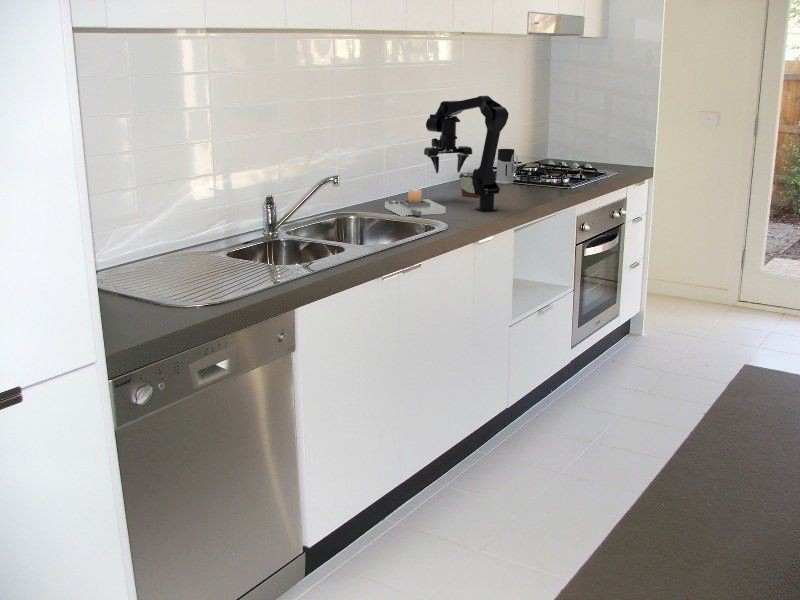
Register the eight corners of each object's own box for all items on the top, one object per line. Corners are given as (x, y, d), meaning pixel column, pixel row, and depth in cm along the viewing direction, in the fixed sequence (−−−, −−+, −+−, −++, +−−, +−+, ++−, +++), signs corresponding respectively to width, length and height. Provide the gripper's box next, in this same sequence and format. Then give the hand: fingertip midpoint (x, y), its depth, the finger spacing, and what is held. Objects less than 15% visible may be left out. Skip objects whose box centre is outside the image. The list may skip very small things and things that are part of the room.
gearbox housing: (448, 215, 331) (448, 205, 330) (403, 217, 325) (403, 208, 324) (427, 205, 350) (427, 196, 349) (384, 208, 344) (384, 199, 343)
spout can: (423, 211, 337) (423, 190, 335) (410, 212, 336) (411, 191, 334) (416, 208, 344) (417, 187, 341) (404, 209, 342) (404, 188, 340)
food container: (491, 197, 369) (492, 173, 366) (485, 199, 364) (485, 175, 361) (464, 194, 375) (465, 171, 372) (458, 197, 370) (458, 173, 367)
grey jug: (508, 180, 415) (509, 148, 411) (524, 184, 403) (525, 151, 399) (491, 181, 412) (493, 148, 408) (507, 185, 400) (509, 152, 395)
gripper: (462, 130, 359) (461, 169, 364) (419, 132, 353) (418, 171, 358) (473, 133, 349) (472, 172, 354) (429, 134, 343) (429, 174, 348)
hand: (447, 172), depth 353 cm, fingers open, 9 cm apart
